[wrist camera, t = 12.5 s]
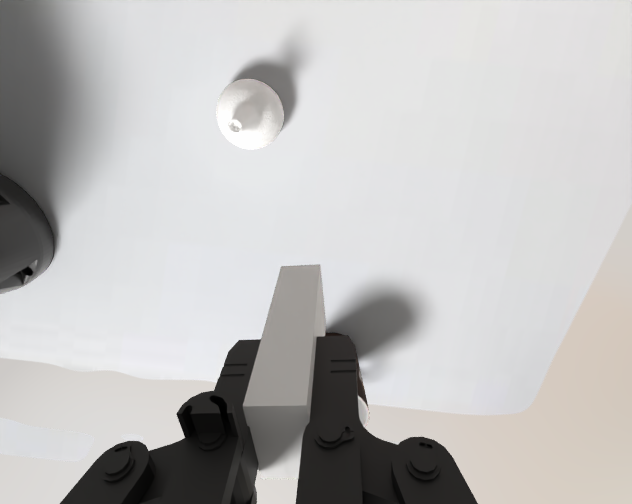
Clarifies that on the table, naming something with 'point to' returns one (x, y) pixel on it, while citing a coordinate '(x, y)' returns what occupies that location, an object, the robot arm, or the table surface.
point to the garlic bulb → (250, 114)
